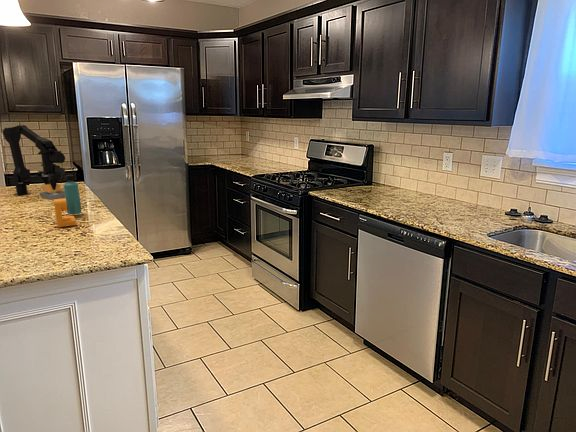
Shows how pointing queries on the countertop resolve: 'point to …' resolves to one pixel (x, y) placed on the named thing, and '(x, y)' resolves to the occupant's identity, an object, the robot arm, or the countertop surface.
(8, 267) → the countertop surface
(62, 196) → the panel
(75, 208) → the beverage bottle
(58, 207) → the bracket
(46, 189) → the cap
